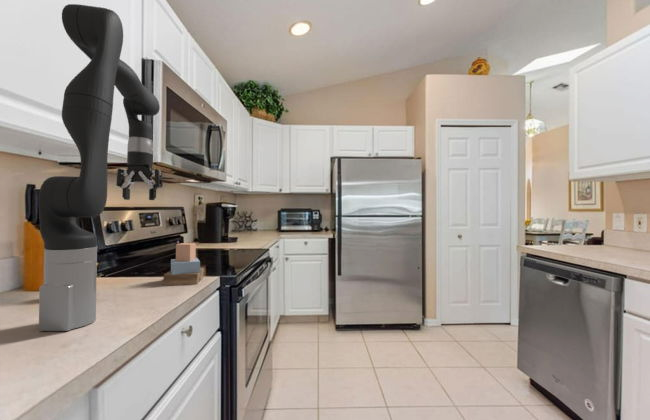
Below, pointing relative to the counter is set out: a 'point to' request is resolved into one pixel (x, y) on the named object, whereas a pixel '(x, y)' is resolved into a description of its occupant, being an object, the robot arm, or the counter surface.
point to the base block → (183, 278)
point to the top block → (185, 266)
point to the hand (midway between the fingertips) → (139, 199)
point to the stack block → (185, 251)
